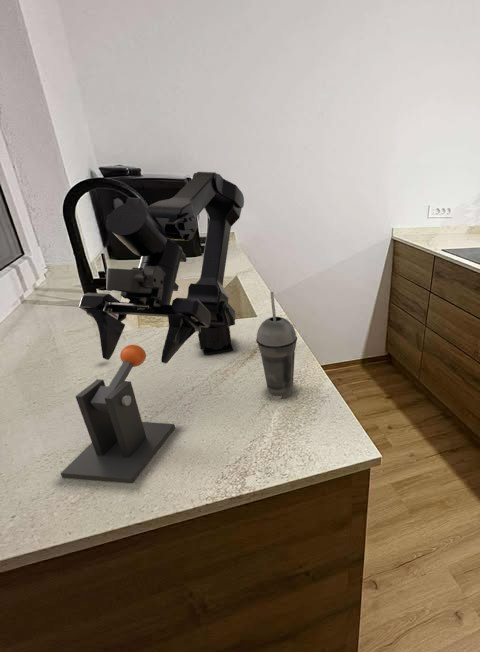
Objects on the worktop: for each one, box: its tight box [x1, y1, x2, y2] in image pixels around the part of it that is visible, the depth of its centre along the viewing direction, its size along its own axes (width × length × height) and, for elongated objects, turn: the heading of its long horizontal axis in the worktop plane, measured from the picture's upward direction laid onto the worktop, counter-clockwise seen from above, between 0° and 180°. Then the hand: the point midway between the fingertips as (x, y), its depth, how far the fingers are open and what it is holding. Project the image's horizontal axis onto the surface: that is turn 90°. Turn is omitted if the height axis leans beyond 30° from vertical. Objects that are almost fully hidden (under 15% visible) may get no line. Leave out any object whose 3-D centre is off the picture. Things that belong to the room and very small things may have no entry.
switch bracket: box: [60, 378, 176, 484], centre depth 56 cm, size 12×10×12 cm
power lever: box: [90, 344, 147, 412], centre depth 57 cm, size 11×3×3 cm, turn 176°
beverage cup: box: [255, 291, 298, 400], centre depth 70 cm, size 7×7×20 cm
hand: (134, 360), depth 60 cm, fingers open, 9 cm apart
